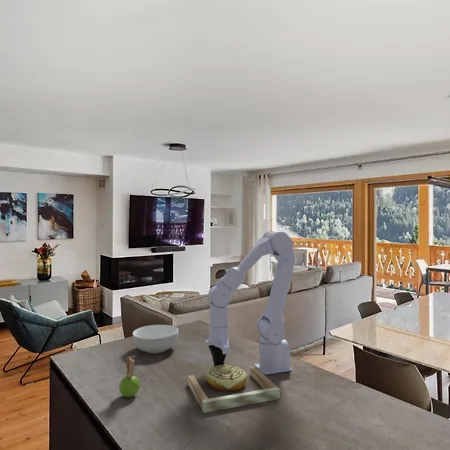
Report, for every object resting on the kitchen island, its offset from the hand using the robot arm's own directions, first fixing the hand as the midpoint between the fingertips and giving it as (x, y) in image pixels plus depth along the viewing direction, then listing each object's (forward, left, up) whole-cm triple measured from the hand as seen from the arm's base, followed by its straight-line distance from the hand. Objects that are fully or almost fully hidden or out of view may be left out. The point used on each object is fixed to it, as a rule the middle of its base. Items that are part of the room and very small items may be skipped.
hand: (218, 369), depth 111 cm
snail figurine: (+27, +6, -2) cm, 28 cm away
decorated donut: (0, +7, -2) cm, 7 cm away
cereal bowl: (+15, -28, -2) cm, 32 cm away
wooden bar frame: (0, +12, -2) cm, 12 cm away
